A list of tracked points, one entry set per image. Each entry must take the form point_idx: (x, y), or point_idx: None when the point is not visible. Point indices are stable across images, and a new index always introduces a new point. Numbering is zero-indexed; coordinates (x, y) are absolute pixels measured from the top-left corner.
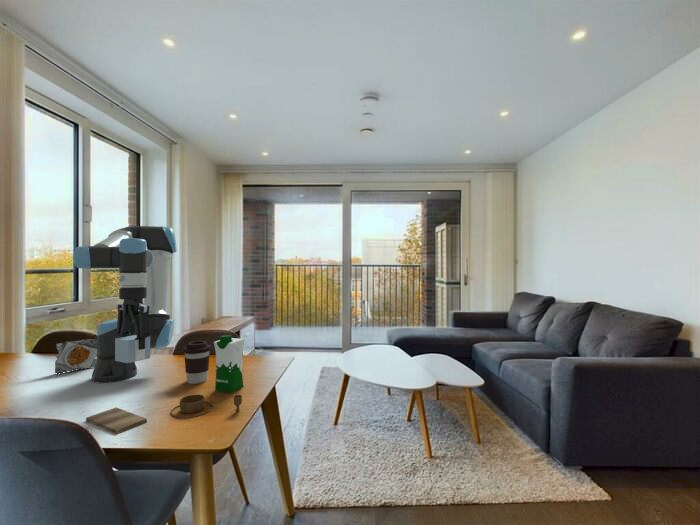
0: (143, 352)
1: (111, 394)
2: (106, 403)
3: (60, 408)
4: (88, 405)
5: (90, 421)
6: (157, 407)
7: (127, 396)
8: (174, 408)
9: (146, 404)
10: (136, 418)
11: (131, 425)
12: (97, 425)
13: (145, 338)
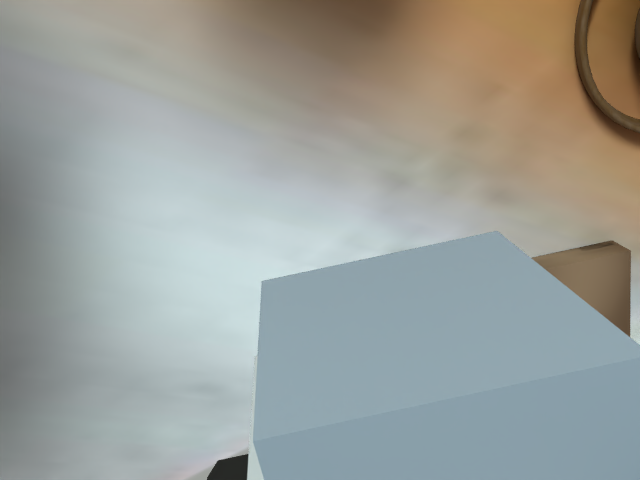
0: None
1: (17, 241)
2: (168, 295)
3: (76, 451)
4: (130, 360)
5: None
6: (454, 128)
7: (131, 186)
8: (596, 88)
9: (359, 153)
10: (585, 281)
11: (629, 313)
12: None
13: (638, 415)
